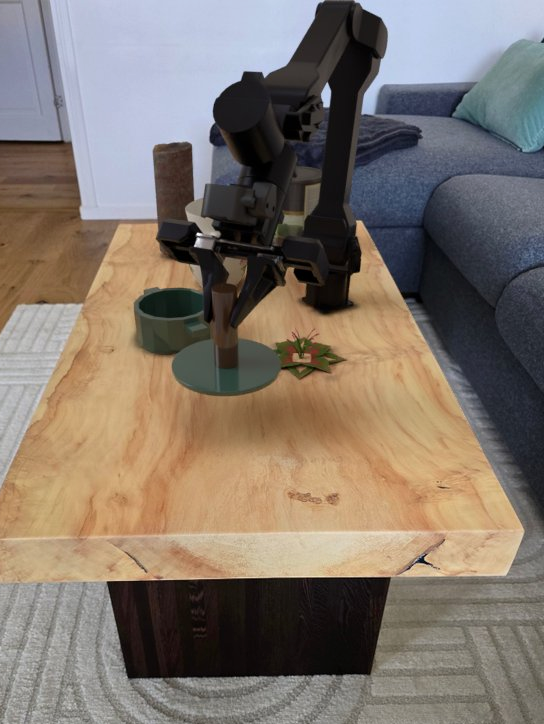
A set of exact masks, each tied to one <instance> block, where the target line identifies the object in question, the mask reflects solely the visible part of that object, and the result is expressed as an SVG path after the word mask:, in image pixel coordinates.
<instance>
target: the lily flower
mask: <svg viewBox="0 0 544 724" xmlns="http://www.w3.org/2000/svg"><path fill="white" fill-rule="evenodd" d="M315 330H316V328H315V327H314V328H312V330H311V332H310V333H309V334H308V336H307V337H305V336H303V337H300V334H299V330H298V329H297V328H295V332H296V333H297V334H296V333H295V332H294V331H291V337H292V338H293V339H294V341H293V340H290V339H288V338H286V340H285V341H280V342H275V345H276V347H277V349H275V348H272V349H273V350H274V351H275V352H276V353H277V354H278V356H279V357H280V360H281V368H285V367H287V369H288V370H289V371H290V372H291V373H292V374H293V375H294V376H296V377H297V379H298V380H301V379H302V378H303V377H305V375H308V374H309V373H310V372H312V371H313V370H314V368H316V369H319V370H322V371H324V372H327V373H328V374H332V372H331V367H330V364H332V363H336V362H342V361H347V359H346V358H344V357H342V356H339V355H338V354H336V353H333V352H328V351H329V349H330V348H331V347H332V345H328V344H323V343H321V342H316V341H315V342H313V340H315V338H314V337H317V336H320V333H316V334H314V335H313V336H311V337H310V335H311V334H312V333H313V332H314V331H315ZM309 337H310V338H309ZM294 354H297V355H298V358H299V359H304V357H305V354H306V355H310V361H294ZM301 364H302V365H304V366H307V367H305V369H302V370H301V371H300V370H299V369H298V368H297V367H296V366H298V365H301Z"/></svg>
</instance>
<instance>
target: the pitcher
mask: <svg viewBox="0 0 544 724" xmlns="http://www.w3.org/2000/svg"><path fill="white" fill-rule="evenodd" d="M202 203H203V197H201V198H197V199H194V201H193V202H191V203H189V204H188V205H187V206H186V208H185V210H186V214H187V218H188V221H191V222H195V223H196V224H197V225H198V227H199V228H200V230H201V231H202V232H203V234H209V235H213V236H216V237H220V232H219V231H215V230H214V228H213V227H212V222H213V219H210V218H208V217H206V218H202V217H201V210H202ZM223 266H224V267H225V269H226V270H227V271H228V273H229V277H228V280H227V283H229V284H233V285H236V286H237V287H238V284H239V283H240V281H241V280H242V278H243V276H244V274H245V273H246V269H247V260H241V259H234V258H228V257H226V258H225V261H224V263H223ZM188 267H189V269H190V272H191V274H192V276H193V278H194V279H195V281H196V282H197V283H198V284H199V286H200V287H201V289H203V283H202V275H201V269H200V266H197V265H191V264H188Z"/></svg>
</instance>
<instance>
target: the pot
mask: <svg viewBox="0 0 544 724" xmlns="http://www.w3.org/2000/svg"><path fill="white" fill-rule="evenodd" d="M133 315H134V323H135V324H134V325H135V334H136V340H137V343H138V345H139V346H140V347H141V348H142V349H144V350H145V351H148V352H150V353H152V354H157V355H162V356H173V355H177V354H178V353H179V352H180V351H181V350H182V349H184V348H186V347H187V346H190V345H192V344H194V343H197V342H200V341H204V340H209V339H213V319H212V321H211V323H210V324H208V323H206V322H205V321H204V310H203V290H202V291H201V290H199V289H195V288H189V287H181V286H179V287H163V288H160V287H158V286H154V287H150V288H144V289H143V294H142V295H139V296H138V297H137V298H136V299H135V301H134V302H133Z"/></svg>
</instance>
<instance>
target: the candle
mask: <svg viewBox="0 0 544 724" xmlns="http://www.w3.org/2000/svg"><path fill="white" fill-rule="evenodd" d="M193 157H194V156H193V144H192V143H191V142H190V141H181V142H180V141H176V142H174V141H173V142H169V143H165V142H164V143H158V144H155V145H154V146H153V149H152V161H153V176H154V178H153V179H154V189H155V190H154V191H155V204H156V217H157V231H158V230H159V227H160V225H161V223H162V222H163V221H165V220H167V219H168V218H169V219H177V220H184V221H188V218H187V214H186V210H185V208H186V206H187V205H188V204H189V203H191V202H193V201H195V181H194V180H195V179H194V163H193ZM158 247H159V251H160V252H161V254H163V255H164V256H170V255H169V254H168V253H167V251H166V250H165V249H164V248H163V247H162V246H161V245H160V243H159V242H158Z"/></svg>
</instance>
